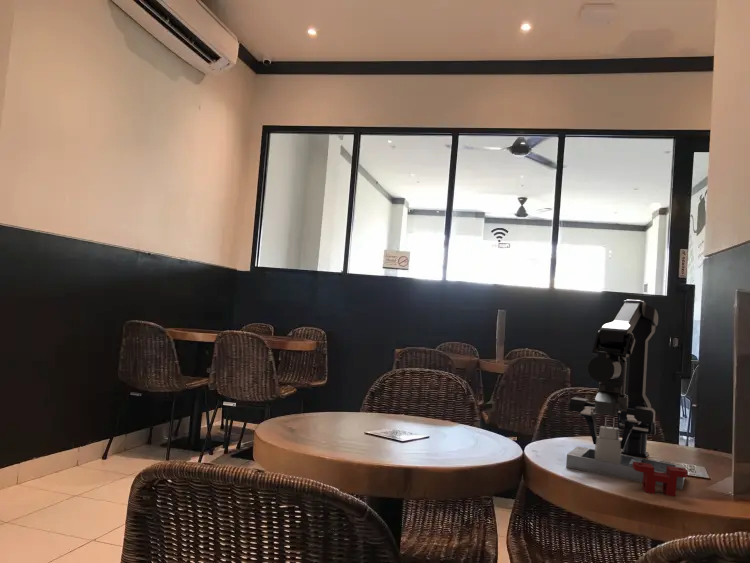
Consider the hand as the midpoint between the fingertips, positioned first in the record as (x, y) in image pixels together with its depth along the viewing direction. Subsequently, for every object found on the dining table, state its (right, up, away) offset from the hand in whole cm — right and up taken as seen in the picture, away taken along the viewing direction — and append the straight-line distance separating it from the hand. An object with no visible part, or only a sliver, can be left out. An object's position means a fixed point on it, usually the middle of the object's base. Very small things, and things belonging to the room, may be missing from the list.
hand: (608, 446), depth 136 cm
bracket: (+8, -2, -19) cm, 21 cm away
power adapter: (0, -5, 0) cm, 5 cm away
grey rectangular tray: (+3, -6, -2) cm, 7 cm away
